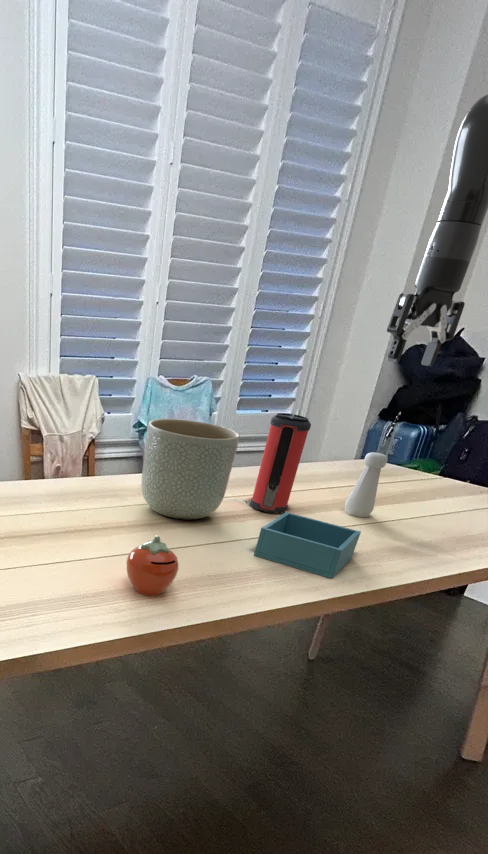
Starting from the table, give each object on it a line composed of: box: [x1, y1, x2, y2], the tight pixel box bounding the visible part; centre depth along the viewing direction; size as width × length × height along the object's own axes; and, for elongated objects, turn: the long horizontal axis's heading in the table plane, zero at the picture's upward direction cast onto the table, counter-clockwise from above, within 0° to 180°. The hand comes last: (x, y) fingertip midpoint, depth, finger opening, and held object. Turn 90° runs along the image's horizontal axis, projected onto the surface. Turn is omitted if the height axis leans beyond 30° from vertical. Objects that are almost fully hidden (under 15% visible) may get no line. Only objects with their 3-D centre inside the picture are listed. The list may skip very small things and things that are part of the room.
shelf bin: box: [253, 511, 362, 579], centre depth 109 cm, size 14×14×5 cm
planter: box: [140, 418, 241, 521], centre depth 121 cm, size 17×17×15 cm
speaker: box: [249, 412, 312, 515], centre depth 129 cm, size 8×8×18 cm
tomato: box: [126, 535, 180, 597], centre depth 89 cm, size 7×7×8 cm
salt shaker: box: [344, 451, 389, 518], centre depth 132 cm, size 6×6×13 cm
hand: (409, 363), depth 118 cm, fingers open, 8 cm apart
